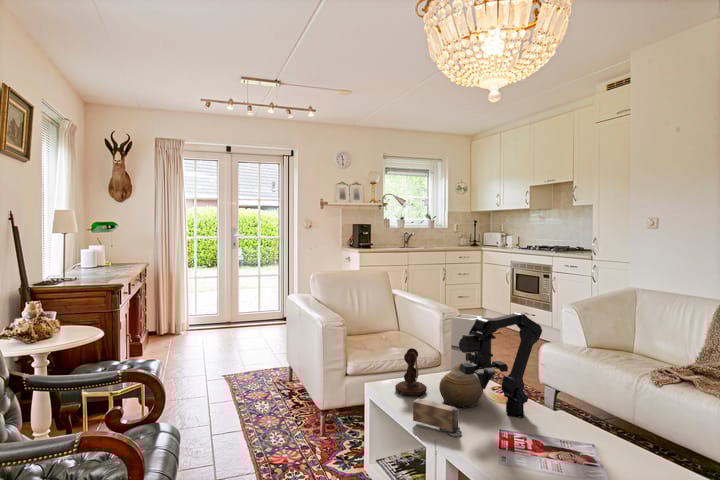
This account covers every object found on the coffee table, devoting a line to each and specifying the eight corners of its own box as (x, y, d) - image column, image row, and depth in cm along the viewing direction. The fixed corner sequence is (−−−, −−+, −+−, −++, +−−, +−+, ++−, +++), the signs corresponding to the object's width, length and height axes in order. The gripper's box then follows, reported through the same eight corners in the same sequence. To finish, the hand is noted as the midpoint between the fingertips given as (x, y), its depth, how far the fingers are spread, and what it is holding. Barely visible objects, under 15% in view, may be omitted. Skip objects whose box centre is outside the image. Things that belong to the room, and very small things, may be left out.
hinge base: (462, 432, 165) (462, 430, 165) (460, 438, 160) (460, 436, 160) (449, 430, 167) (449, 428, 167) (447, 435, 162) (447, 433, 162)
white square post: (482, 388, 212) (483, 316, 211) (472, 394, 204) (473, 319, 203) (461, 382, 219) (462, 313, 219) (450, 388, 211) (451, 316, 211)
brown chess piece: (424, 399, 197) (424, 355, 197) (392, 395, 201) (392, 352, 201) (428, 388, 211) (428, 347, 211) (398, 385, 216) (398, 345, 215)
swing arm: (459, 428, 164) (460, 408, 164) (456, 432, 161) (456, 412, 161) (417, 417, 174) (417, 398, 174) (413, 420, 171) (413, 401, 171)
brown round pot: (478, 396, 201) (479, 359, 201) (485, 413, 184) (486, 372, 183) (434, 394, 203) (435, 357, 203) (437, 409, 186) (438, 369, 185)
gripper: (493, 343, 185) (493, 380, 185) (453, 346, 180) (453, 383, 180) (508, 350, 174) (508, 389, 174) (466, 353, 169) (465, 393, 170)
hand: (483, 388), depth 175 cm, fingers closed
